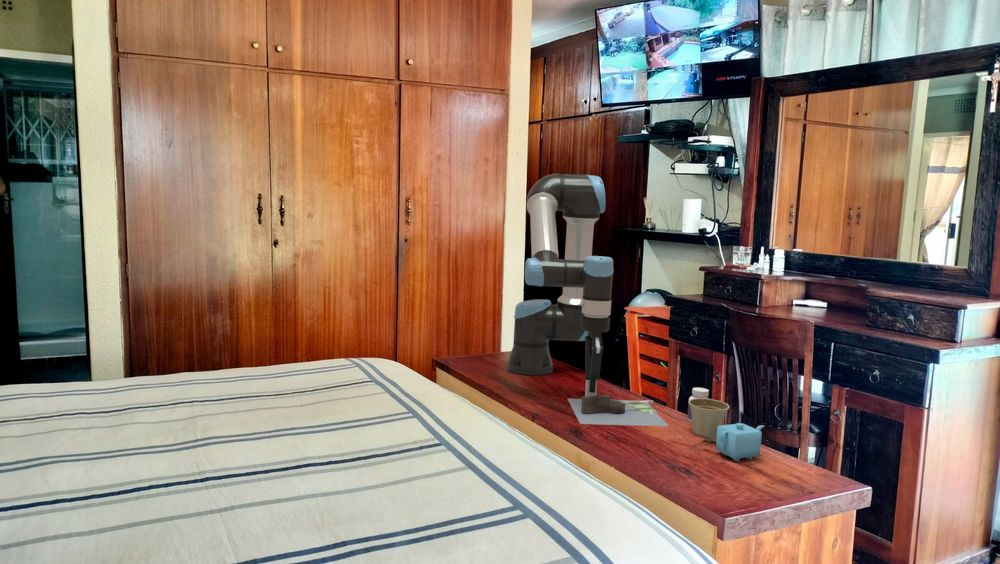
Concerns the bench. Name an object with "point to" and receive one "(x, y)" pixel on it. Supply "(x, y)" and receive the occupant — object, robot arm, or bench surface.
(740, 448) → the teapot
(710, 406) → the flower pot
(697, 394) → the pill bottle
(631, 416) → the tuner board
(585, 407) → the dark long piece
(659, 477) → the bench surface
